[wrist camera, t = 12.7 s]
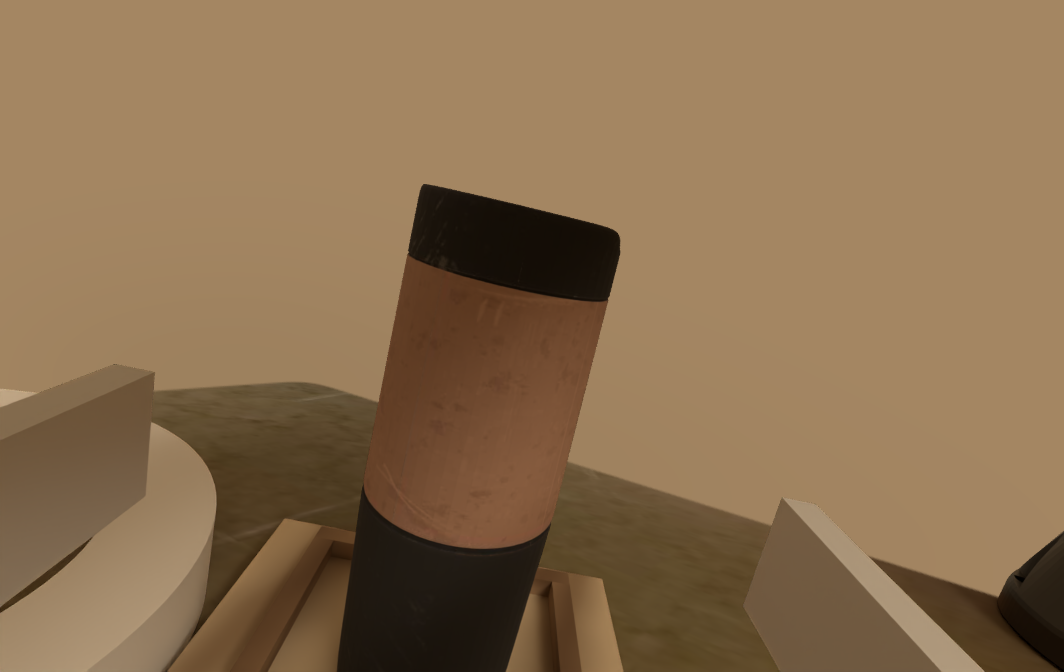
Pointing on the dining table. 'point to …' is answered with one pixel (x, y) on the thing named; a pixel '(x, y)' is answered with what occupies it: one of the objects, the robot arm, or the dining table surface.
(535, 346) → the travel mug
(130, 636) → the ring with crossbar
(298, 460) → the dining table surface
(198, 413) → the dining table surface
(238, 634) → the board
